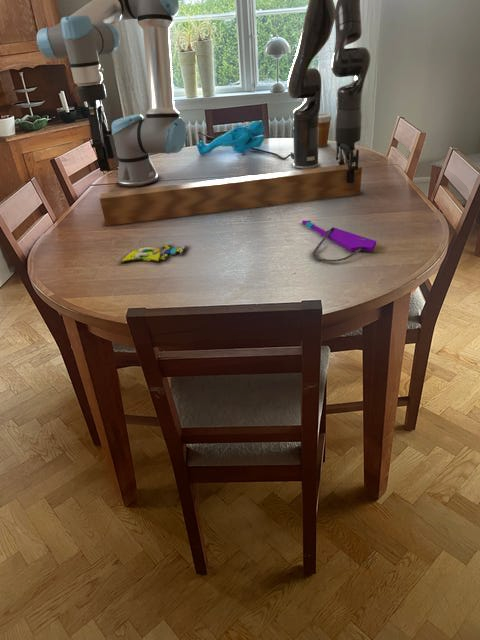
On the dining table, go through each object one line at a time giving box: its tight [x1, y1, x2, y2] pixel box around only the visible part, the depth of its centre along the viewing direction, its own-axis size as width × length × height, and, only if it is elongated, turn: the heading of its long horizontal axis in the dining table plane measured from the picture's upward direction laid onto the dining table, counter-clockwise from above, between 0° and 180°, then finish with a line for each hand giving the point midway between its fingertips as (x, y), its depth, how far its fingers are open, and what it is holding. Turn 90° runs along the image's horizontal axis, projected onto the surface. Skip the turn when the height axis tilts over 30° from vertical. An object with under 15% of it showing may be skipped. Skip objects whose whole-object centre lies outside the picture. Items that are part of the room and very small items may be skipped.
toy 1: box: [120, 244, 187, 264], centre depth 126 cm, size 10×1×15 cm
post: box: [99, 164, 363, 227], centre depth 149 cm, size 80×5×9 cm, turn 98°
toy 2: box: [196, 120, 266, 156], centre depth 207 cm, size 17×11×30 cm
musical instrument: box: [301, 219, 377, 263], centre depth 123 cm, size 24×2×20 cm
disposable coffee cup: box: [318, 113, 333, 148], centre depth 205 cm, size 10×10×12 cm
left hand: (107, 164), depth 140 cm, fingers open, 13 cm apart
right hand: (346, 179), depth 152 cm, fingers open, 7 cm apart
